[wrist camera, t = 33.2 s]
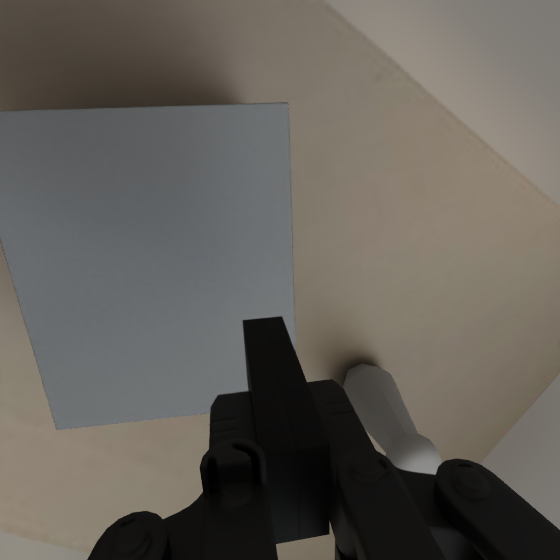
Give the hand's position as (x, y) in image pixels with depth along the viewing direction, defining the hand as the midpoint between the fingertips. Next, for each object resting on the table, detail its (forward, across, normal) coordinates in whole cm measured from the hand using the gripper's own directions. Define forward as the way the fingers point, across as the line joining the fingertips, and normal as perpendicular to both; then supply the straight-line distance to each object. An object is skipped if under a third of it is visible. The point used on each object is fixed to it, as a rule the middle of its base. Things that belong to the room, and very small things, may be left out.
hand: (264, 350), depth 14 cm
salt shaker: (+21, +12, -17) cm, 30 cm away
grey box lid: (+10, -5, 0) cm, 12 cm away
